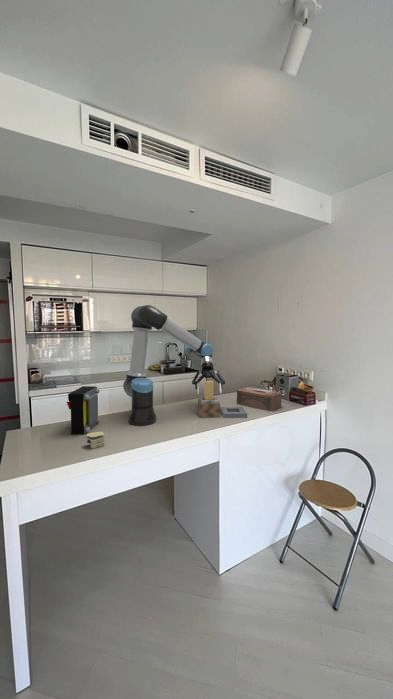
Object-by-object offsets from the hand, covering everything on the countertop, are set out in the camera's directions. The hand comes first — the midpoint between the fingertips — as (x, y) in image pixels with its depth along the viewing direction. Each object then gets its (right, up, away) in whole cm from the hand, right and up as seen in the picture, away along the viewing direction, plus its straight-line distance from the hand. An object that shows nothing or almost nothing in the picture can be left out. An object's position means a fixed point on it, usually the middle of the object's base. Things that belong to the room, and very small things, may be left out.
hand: (209, 393), depth 172 cm
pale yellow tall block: (0, -5, +2) cm, 5 cm away
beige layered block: (-52, -17, -45) cm, 71 cm away
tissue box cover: (+34, -12, +24) cm, 43 cm away
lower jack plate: (+14, -13, +4) cm, 20 cm away
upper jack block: (-1, -13, +3) cm, 13 cm away
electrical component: (-65, -14, -23) cm, 71 cm away
